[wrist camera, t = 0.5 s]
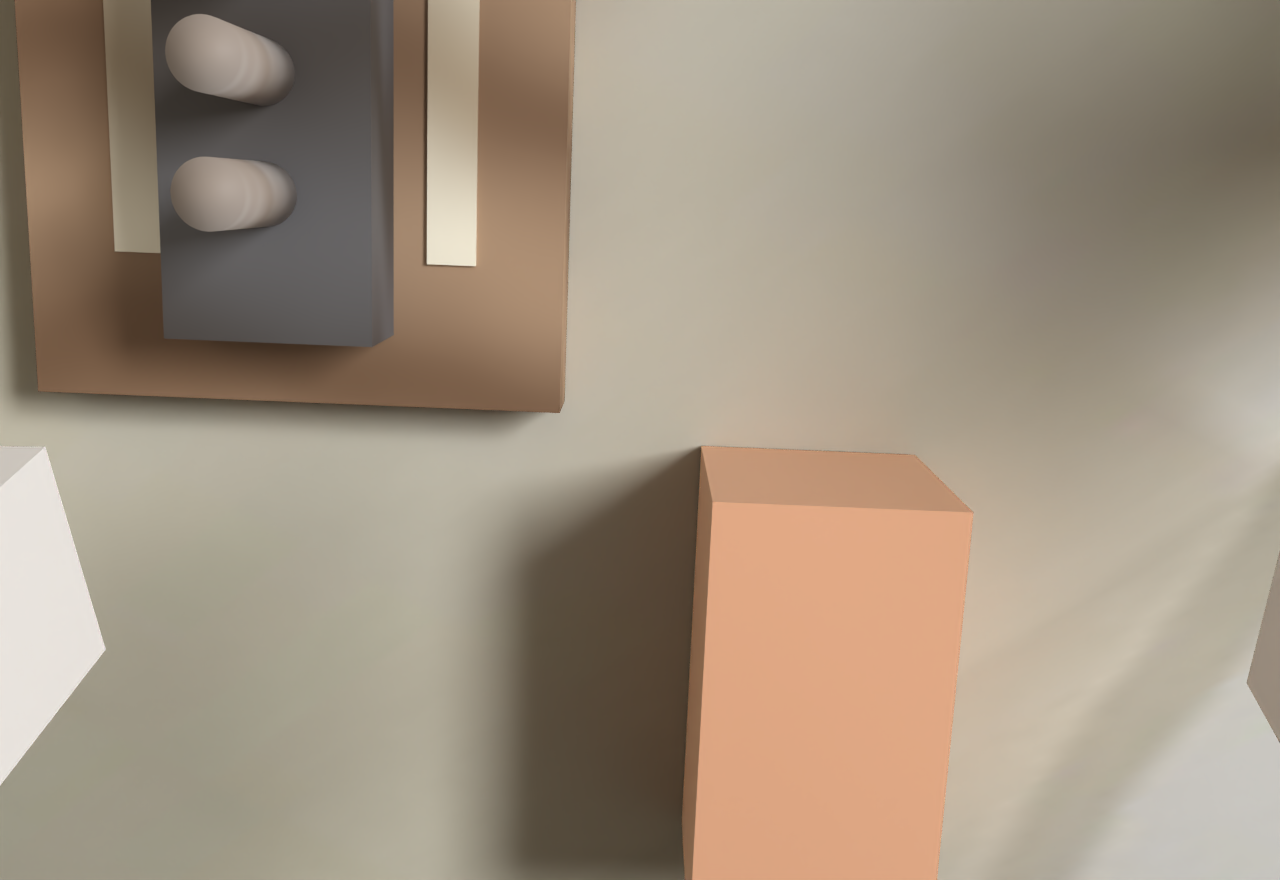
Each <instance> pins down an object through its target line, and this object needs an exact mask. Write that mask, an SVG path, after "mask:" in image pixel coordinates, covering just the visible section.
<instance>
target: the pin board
mask: <svg viewBox="0 0 1280 880" xmlns="http://www.w3.org/2000/svg"><path fill="white" fill-rule="evenodd" d="M575 12H576V0H15V17H16V33H17V50H18V66H19V83H20V99H21V116H22V132H23V149H24V165H25V182H26V198H27V215H28V231H29V248H30V264H31V281H32V297H33V314H34V330H35V347H36V363H37V380H38V391H42V392H67V393H91V394H115V395H139V396H163V397H188V398H212V399H236V400H260V401H285V402H309V403H333V404H357V405H381V406H406V407H430V408H454V409H478V410H503V411H527V412H551V413H560V411H561V408H562V406H563V403H564V400H565V365H566V330H567V295H568V259H569V224H570V189H571V153H572V118H573V83H574V48H575Z"/></svg>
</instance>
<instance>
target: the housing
mask: <svg viewBox="0 0 1280 880" xmlns="http://www.w3.org/2000/svg"><path fill="white" fill-rule="evenodd" d="M972 521H973V512H972V511H971V510H970V509H969V508H968V507H967V506H966V505H965V504H964V503H963V502H962V501H961V500H960V499H959V498H958V497H957V496H956V495H955V494H954V493H953V492H952V491H951V490H950V489H949V488H948V487H947V486H946V485H945V484H944V483H943V482H942V481H941V480H940V479H939V478H938V477H937V476H936V475H935V474H934V473H933V472H932V471H931V470H930V469H929V468H928V467H927V466H926V465H925V464H924V463H923V462H922V461H921V460H920V459H919V458H918V457H917V456H915V455H908V454H884V453H859V452H835V451H811V450H787V449H762V448H738V447H714V446H701V461H700V480H699V500H698V519H697V538H696V557H695V577H694V596H693V615H692V635H691V654H690V673H689V692H688V712H687V731H686V750H685V770H684V789H683V808H682V834H683V853H684V873H685V880H937V874H938V864H939V853H940V843H941V833H942V823H943V813H944V803H945V793H946V783H947V773H948V763H949V753H950V743H951V733H952V723H953V713H954V703H955V693H956V682H957V672H958V662H959V652H960V642H961V632H962V622H963V612H964V602H965V592H966V582H967V572H968V562H969V552H970V542H971V532H972Z"/></svg>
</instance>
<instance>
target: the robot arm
mask: <svg viewBox="0 0 1280 880" xmlns="http://www.w3.org/2000/svg"><path fill="white" fill-rule="evenodd" d="M105 650H106V649H105V645H104V642H103V639H102V635H101V632H100V628H99V625H98V622H97V618H96V615H95V612H94V608H93V605H92V602H91V598H90V595H89V592H88V588H87V585H86V581H85V578H84V575H83V571H82V568H81V565H80V561H79V558H78V555H77V551H76V548H75V545H74V541H73V538H72V535H71V531H70V528H69V524H68V521H67V518H66V514H65V511H64V508H63V504H62V501H61V498H60V494H59V491H58V488H57V484H56V481H55V477H54V474H53V471H52V467H51V464H50V461H49V457H48V454H47V451H46V447H32V446H0V785H1V784H2V782H3V781H4V780H5V779H6V777H7V776H8V775H9V773H10V772H11V771H12V770H13V768H14V767H15V766H16V764H17V763H18V762H19V761H20V759H21V758H22V757H23V755H24V754H25V753H26V752H27V750H28V749H29V748H30V746H31V745H32V744H33V743H34V741H35V740H36V739H37V737H38V736H39V735H40V733H41V732H42V731H43V730H44V728H45V727H46V726H47V724H48V723H49V722H50V721H51V719H52V718H53V717H54V715H55V714H56V713H57V712H58V710H59V709H60V708H61V706H62V705H63V704H64V703H65V701H66V700H67V699H68V697H69V696H70V695H71V694H72V692H73V691H74V690H75V688H76V687H77V686H78V685H79V683H80V682H81V681H82V679H83V678H84V677H85V676H86V674H87V673H88V672H89V670H90V669H91V668H92V667H93V665H94V664H95V663H96V661H97V660H98V659H99V658H100V656H101V655H102V654H103V652H104V651H105ZM1247 684H1248V686H1249V688H1250V690H1251V692H1252V693H1253V695H1254V697H1255V699H1256V701H1257V703H1258V704H1259V706H1260V708H1261V710H1262V712H1263V713H1264V715H1265V717H1266V719H1267V721H1268V722H1269V724H1270V726H1271V728H1272V730H1273V732H1274V733H1275V735H1276V737H1277V739H1278V741H1279V742H1280V552H1279V556H1278V560H1277V564H1276V568H1275V572H1274V576H1273V580H1272V584H1271V588H1270V592H1269V596H1268V600H1267V604H1266V608H1265V612H1264V616H1263V620H1262V624H1261V628H1260V632H1259V636H1258V639H1257V643H1256V647H1255V651H1254V655H1253V659H1252V663H1251V667H1250V671H1249V675H1248V679H1247Z"/></svg>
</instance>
